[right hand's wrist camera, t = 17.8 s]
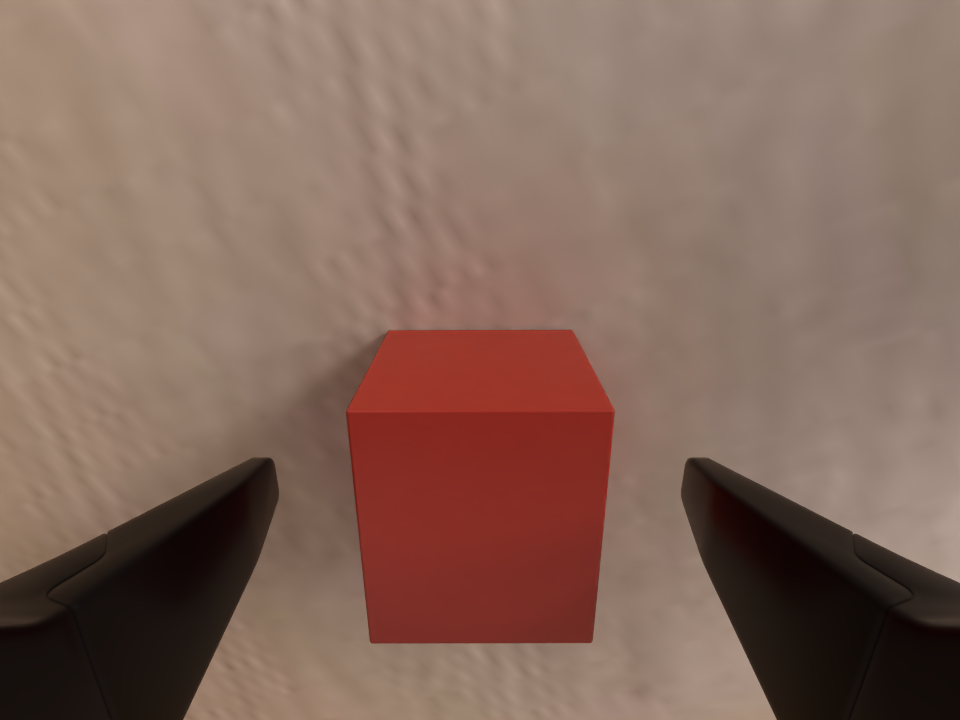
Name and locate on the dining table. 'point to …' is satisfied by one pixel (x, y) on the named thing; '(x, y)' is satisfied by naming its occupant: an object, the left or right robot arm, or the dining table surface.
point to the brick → (480, 486)
